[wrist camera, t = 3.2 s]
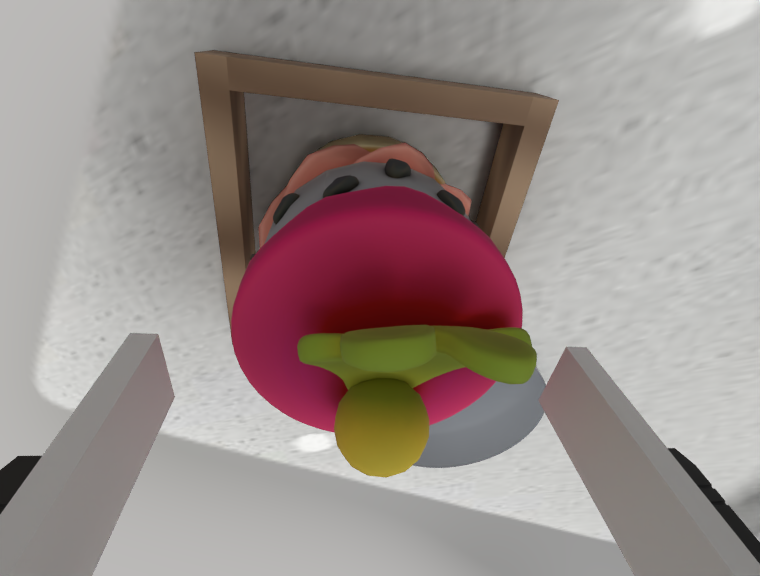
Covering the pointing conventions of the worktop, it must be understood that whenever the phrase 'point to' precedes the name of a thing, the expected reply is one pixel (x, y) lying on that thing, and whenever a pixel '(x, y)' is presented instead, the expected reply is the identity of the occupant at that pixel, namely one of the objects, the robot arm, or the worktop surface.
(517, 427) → the plate
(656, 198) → the worktop surface
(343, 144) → the cake
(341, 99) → the frame
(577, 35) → the worktop surface
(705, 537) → the robot arm
